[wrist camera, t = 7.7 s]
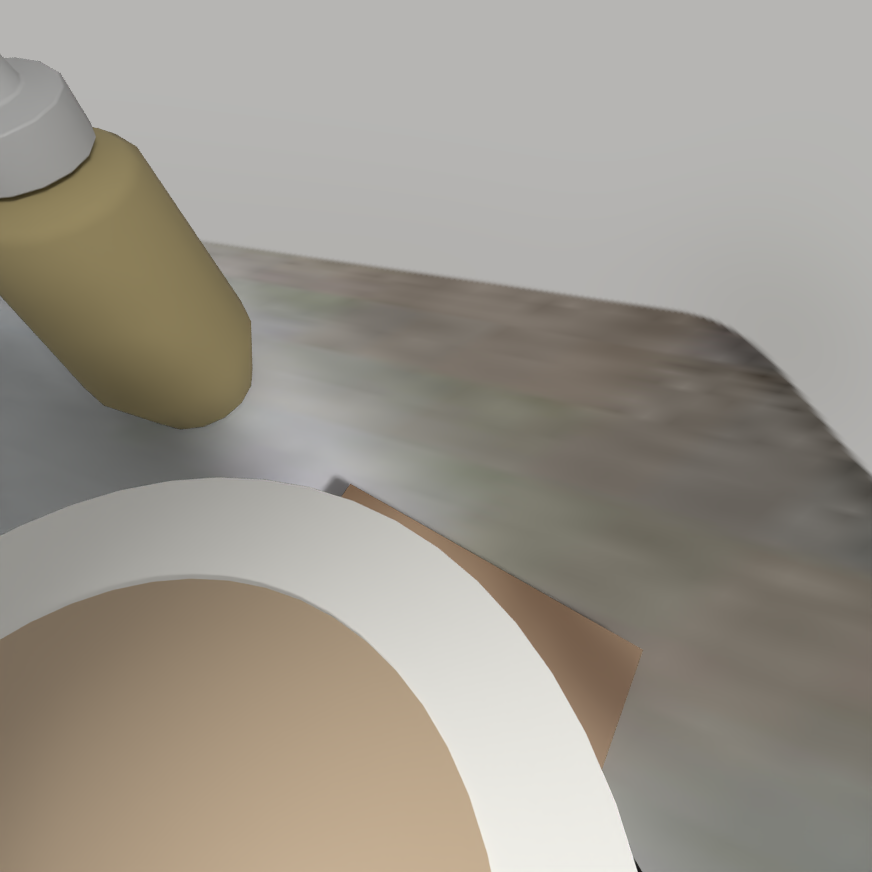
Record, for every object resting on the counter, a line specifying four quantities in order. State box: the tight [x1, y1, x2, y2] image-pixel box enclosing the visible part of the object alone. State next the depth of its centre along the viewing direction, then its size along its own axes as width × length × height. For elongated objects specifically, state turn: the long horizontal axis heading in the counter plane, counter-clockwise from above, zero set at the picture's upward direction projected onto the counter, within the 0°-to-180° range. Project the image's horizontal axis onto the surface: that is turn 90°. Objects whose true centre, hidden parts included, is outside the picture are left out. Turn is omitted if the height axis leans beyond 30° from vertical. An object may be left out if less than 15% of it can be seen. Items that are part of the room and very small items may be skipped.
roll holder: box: [341, 484, 643, 770], centre depth 16 cm, size 14×14×5 cm
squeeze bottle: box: [0, 55, 252, 429], centre depth 18 cm, size 8×8×18 cm
